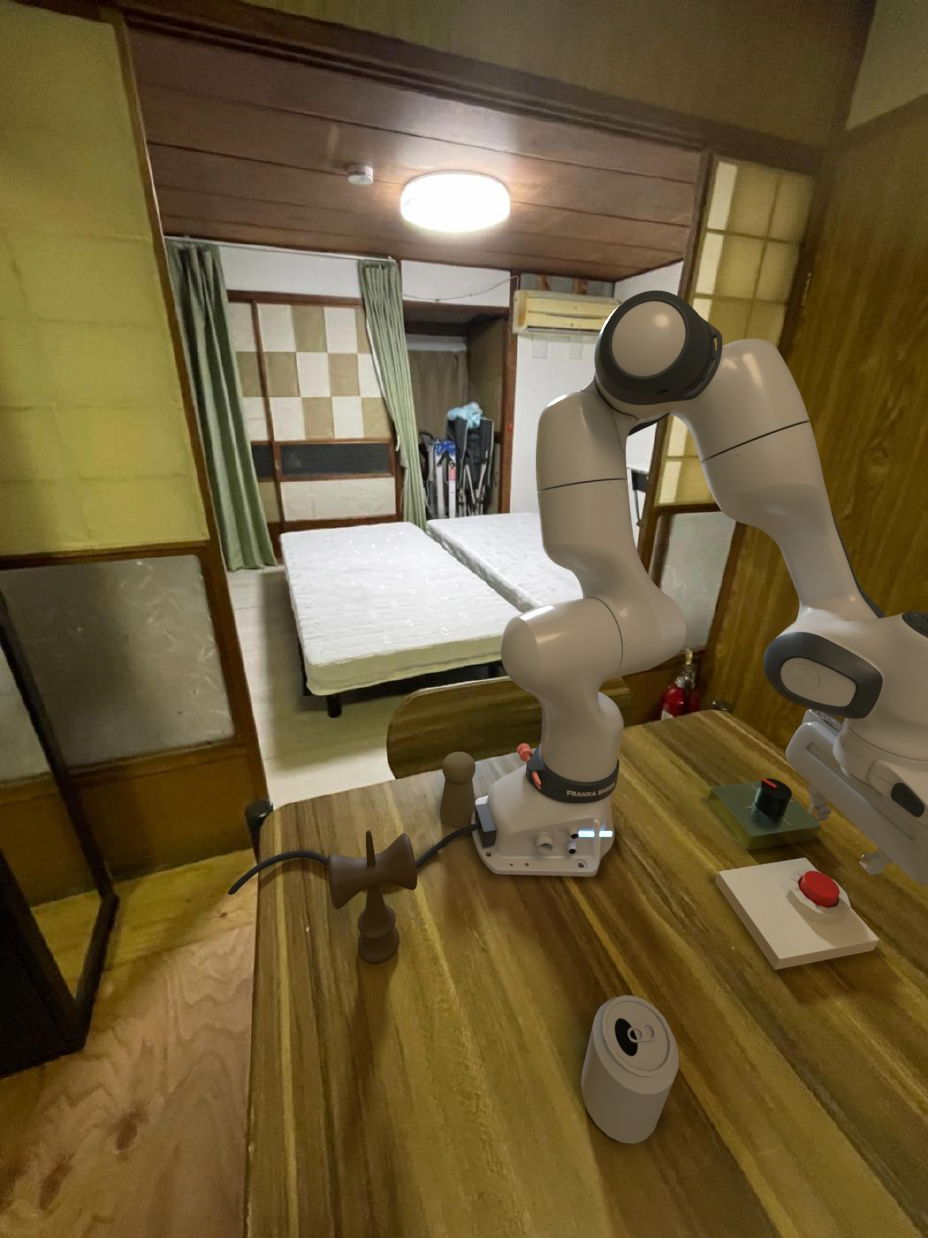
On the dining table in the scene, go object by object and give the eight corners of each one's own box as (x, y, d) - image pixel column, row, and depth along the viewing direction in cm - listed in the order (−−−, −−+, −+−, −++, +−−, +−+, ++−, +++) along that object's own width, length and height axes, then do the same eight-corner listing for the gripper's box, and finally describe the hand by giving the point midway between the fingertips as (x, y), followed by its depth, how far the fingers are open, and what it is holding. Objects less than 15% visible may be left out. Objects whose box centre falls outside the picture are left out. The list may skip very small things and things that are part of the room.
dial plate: (746, 850, 77) (751, 835, 76) (707, 800, 86) (711, 786, 85) (815, 839, 79) (822, 825, 78) (770, 792, 88) (775, 778, 87)
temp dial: (790, 807, 81) (797, 789, 79) (777, 820, 79) (784, 802, 77) (762, 790, 84) (768, 772, 83) (749, 802, 82) (755, 784, 80)
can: (571, 1055, 54) (584, 989, 49) (639, 1048, 55) (660, 983, 49) (593, 1152, 47) (611, 1089, 42) (671, 1144, 48) (699, 1080, 43)
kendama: (422, 956, 63) (418, 841, 54) (342, 982, 60) (324, 865, 51) (411, 911, 68) (406, 800, 59) (337, 934, 65) (320, 820, 56)
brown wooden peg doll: (473, 828, 80) (475, 775, 76) (436, 823, 81) (435, 770, 76) (479, 800, 86) (481, 748, 81) (443, 795, 87) (443, 743, 82)
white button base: (774, 970, 62) (784, 950, 60) (714, 882, 72) (721, 862, 71) (873, 950, 64) (885, 930, 62) (801, 867, 75) (809, 848, 73)
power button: (815, 909, 65) (820, 900, 64) (792, 881, 69) (796, 872, 68) (843, 904, 66) (847, 895, 65) (818, 877, 69) (822, 868, 68)
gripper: (790, 702, 66) (761, 783, 72) (952, 830, 48) (894, 924, 54) (832, 697, 67) (800, 778, 73) (1007, 821, 49) (945, 914, 55)
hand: (841, 841), depth 63 cm, fingers open, 6 cm apart
